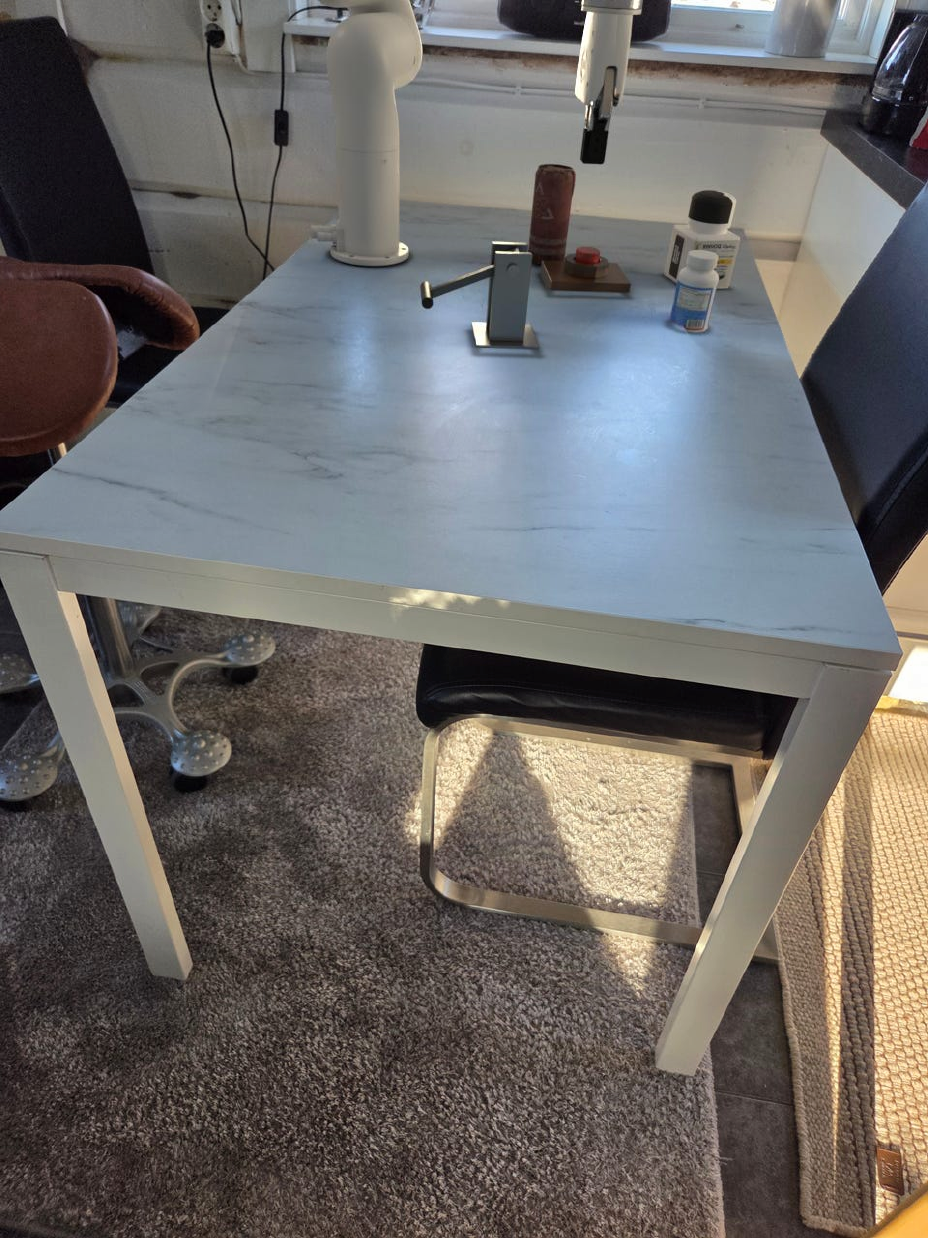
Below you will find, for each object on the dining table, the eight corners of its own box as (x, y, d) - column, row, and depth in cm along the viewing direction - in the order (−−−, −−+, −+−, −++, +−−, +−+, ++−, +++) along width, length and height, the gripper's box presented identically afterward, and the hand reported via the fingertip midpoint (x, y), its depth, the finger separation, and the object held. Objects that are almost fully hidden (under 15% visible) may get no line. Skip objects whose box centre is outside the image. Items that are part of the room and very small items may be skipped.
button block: (549, 296, 123) (553, 268, 121) (540, 274, 131) (543, 248, 128) (628, 298, 124) (633, 271, 122) (614, 277, 132) (618, 250, 129)
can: (563, 269, 134) (575, 172, 125) (524, 264, 135) (534, 168, 126) (567, 258, 138) (579, 165, 130) (529, 254, 139) (539, 160, 130)
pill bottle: (679, 316, 119) (695, 245, 113) (713, 326, 117) (731, 254, 111) (661, 326, 116) (676, 253, 110) (695, 336, 114) (713, 262, 107)
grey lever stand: (475, 354, 105) (482, 256, 97) (470, 330, 111) (476, 237, 103) (538, 356, 105) (549, 258, 98) (529, 332, 111) (539, 239, 104)
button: (577, 265, 124) (578, 252, 123) (573, 257, 127) (574, 245, 125) (600, 266, 124) (602, 253, 123) (596, 258, 127) (597, 246, 126)
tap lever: (425, 314, 102) (418, 295, 100) (423, 297, 106) (417, 279, 105) (527, 276, 100) (521, 256, 98) (521, 261, 104) (515, 242, 103)
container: (684, 290, 129) (704, 199, 120) (662, 274, 134) (680, 186, 126) (728, 289, 130) (751, 199, 122) (705, 273, 136) (725, 186, 128)
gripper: (573, -7, 109) (557, 150, 120) (593, -1, 97) (573, 173, 109) (629, -4, 109) (608, 152, 121) (656, 3, 98) (629, 175, 109)
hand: (591, 162), depth 115 cm, fingers closed
